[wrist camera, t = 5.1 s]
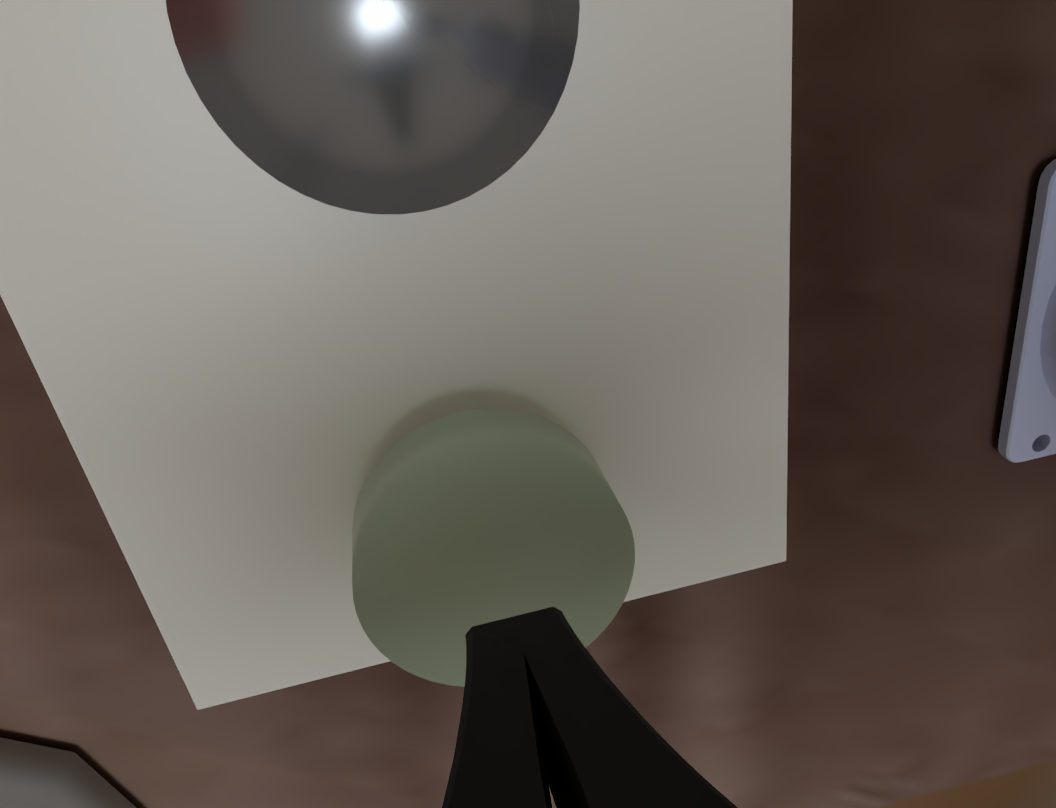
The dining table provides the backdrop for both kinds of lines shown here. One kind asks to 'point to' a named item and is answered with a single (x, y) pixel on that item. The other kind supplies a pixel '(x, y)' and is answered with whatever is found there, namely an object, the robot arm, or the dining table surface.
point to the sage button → (484, 537)
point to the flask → (51, 779)
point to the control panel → (397, 314)
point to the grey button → (379, 90)
